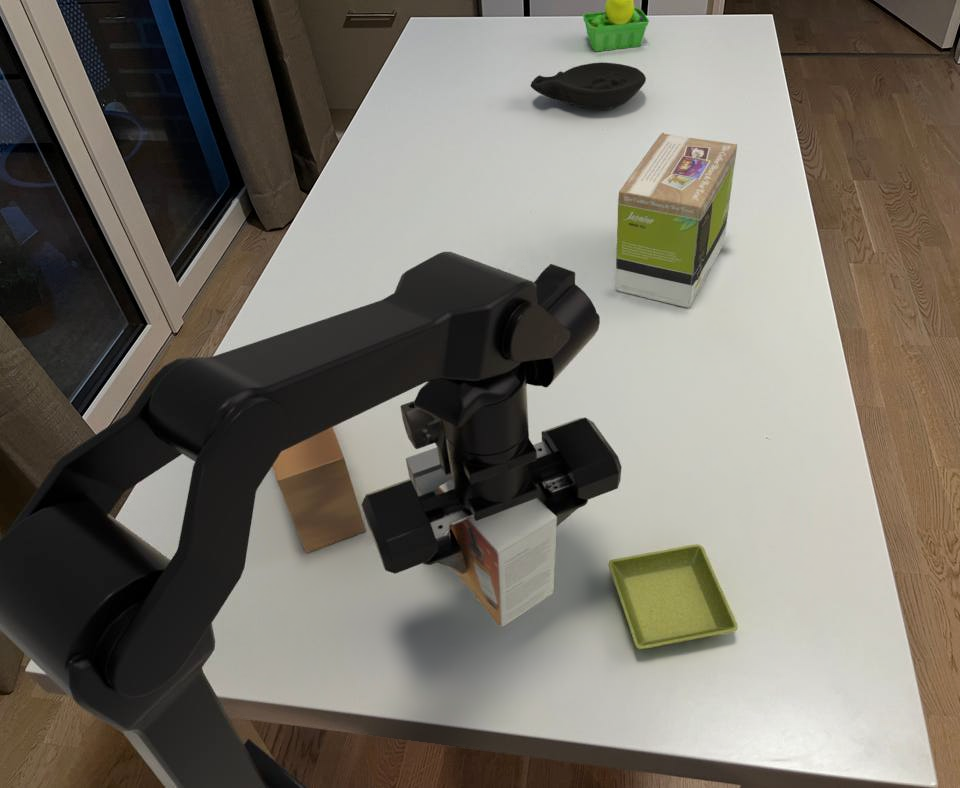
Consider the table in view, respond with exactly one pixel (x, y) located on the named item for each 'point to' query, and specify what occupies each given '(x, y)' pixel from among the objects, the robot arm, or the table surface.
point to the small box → (508, 557)
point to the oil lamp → (592, 85)
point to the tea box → (673, 218)
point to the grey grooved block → (426, 472)
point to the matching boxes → (319, 491)
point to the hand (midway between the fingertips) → (499, 554)
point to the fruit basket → (616, 26)
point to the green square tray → (671, 596)
